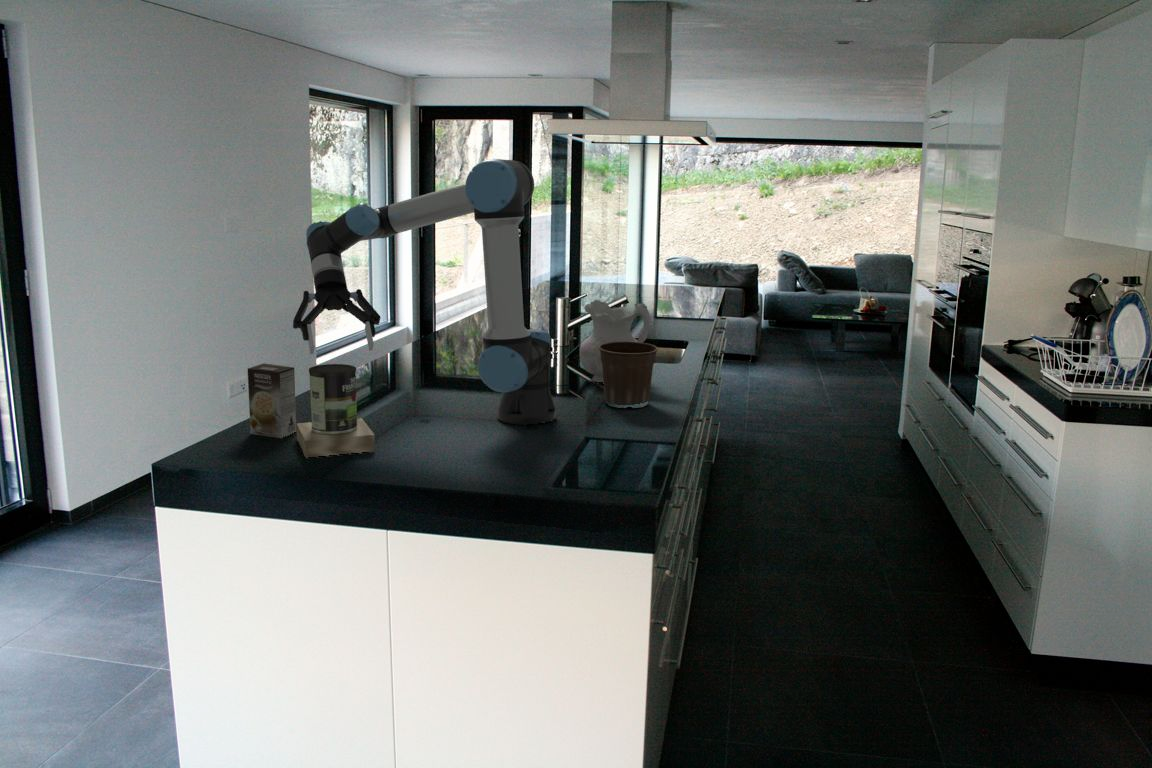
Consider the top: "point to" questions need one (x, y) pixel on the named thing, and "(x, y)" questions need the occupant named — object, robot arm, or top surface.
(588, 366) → the ceramic pitcher
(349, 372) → the coffee can
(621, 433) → the top surface
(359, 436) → the oak base block
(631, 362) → the plant pot
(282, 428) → the coffee box
